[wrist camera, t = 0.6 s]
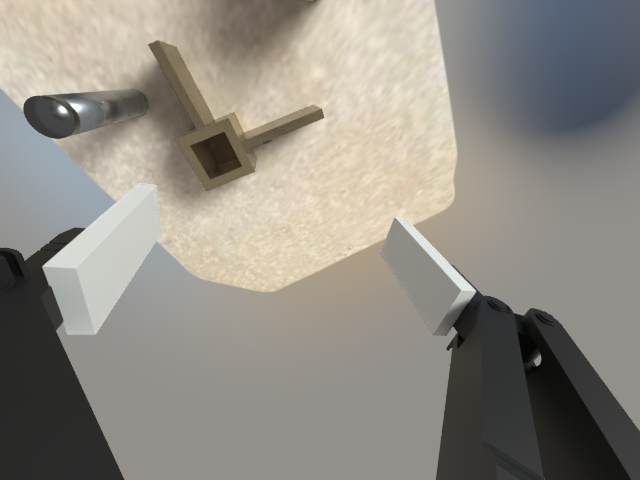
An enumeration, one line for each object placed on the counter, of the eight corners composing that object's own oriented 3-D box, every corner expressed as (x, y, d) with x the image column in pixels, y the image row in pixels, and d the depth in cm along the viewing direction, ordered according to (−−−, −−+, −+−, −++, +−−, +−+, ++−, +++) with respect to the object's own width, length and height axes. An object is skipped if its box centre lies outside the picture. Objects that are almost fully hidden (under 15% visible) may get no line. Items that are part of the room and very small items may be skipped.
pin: (116, 94, 31) (12, 104, 18) (138, 85, 31) (49, 89, 18) (133, 119, 32) (48, 144, 20) (153, 110, 32) (81, 130, 20)
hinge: (146, 59, 30) (121, 55, 25) (281, 2, 29) (284, -14, 24) (214, 175, 38) (207, 191, 32) (322, 132, 37) (331, 140, 32)
